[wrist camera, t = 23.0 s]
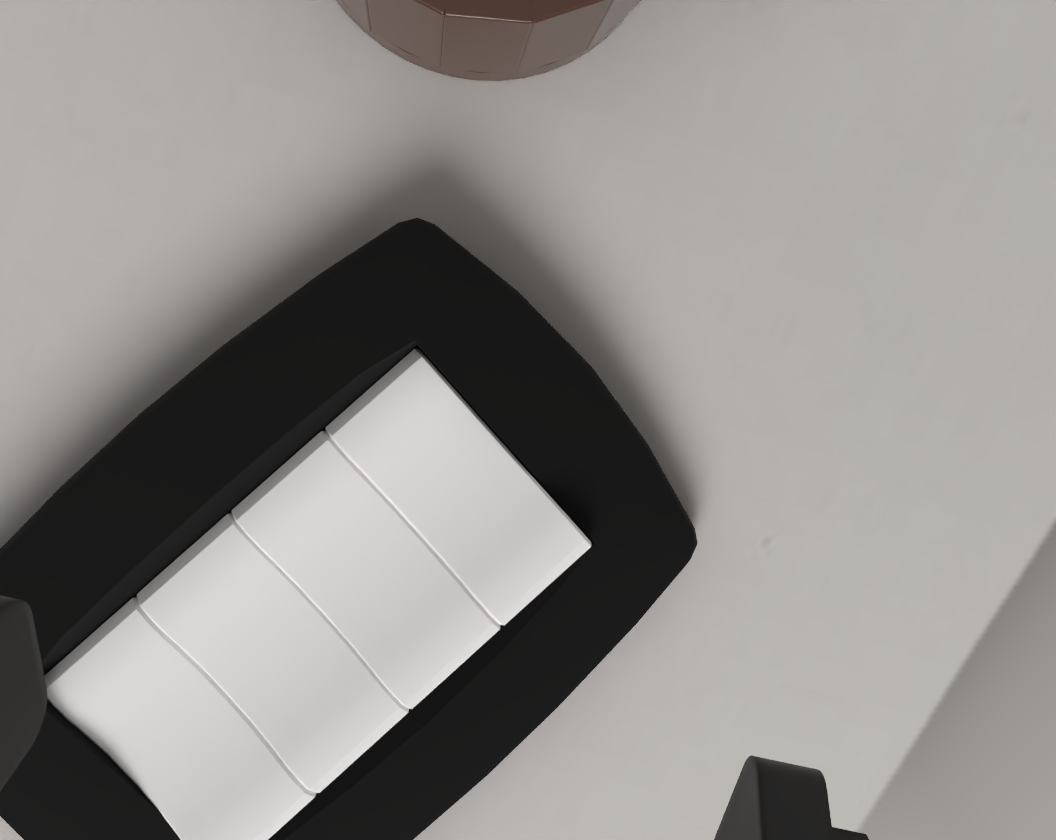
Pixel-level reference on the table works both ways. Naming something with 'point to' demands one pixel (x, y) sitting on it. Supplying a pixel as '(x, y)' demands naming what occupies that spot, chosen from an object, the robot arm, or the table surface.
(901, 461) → the table surface
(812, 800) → the robot arm
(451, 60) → the brown round bowl
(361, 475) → the light switch
